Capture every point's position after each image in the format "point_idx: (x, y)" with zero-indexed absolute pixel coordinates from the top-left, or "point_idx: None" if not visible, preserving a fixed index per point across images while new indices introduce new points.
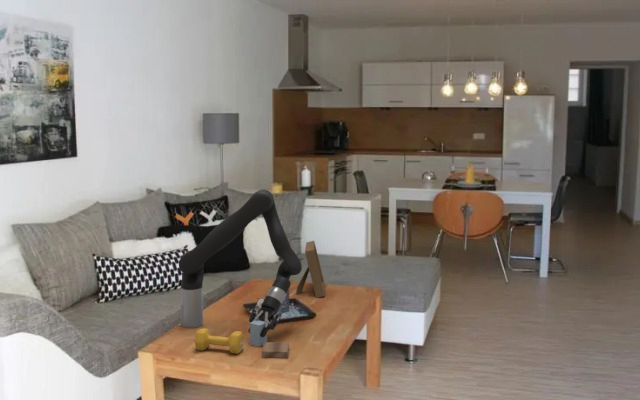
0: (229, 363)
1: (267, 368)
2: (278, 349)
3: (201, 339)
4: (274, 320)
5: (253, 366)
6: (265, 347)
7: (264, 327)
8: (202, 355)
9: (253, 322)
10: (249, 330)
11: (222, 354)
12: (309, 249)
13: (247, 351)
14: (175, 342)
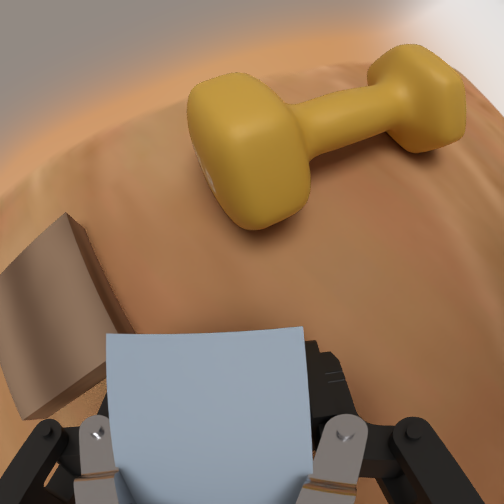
0: (176, 105)
1: (34, 175)
2: (14, 293)
3: (377, 59)
4: (4, 481)
5: (80, 149)
6: (71, 269)
7: None
8: (331, 92)
9: (274, 385)
10: (310, 349)
11: None
12: None
13: (197, 237)
14: (493, 135)
